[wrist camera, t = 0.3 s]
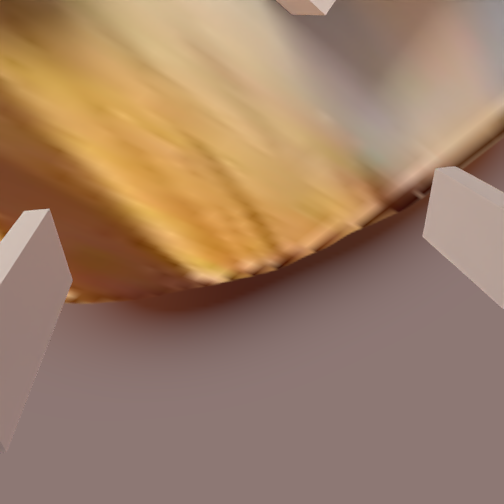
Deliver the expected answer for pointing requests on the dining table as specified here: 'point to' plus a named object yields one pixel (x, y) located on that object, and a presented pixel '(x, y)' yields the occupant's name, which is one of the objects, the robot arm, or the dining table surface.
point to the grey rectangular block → (307, 6)
